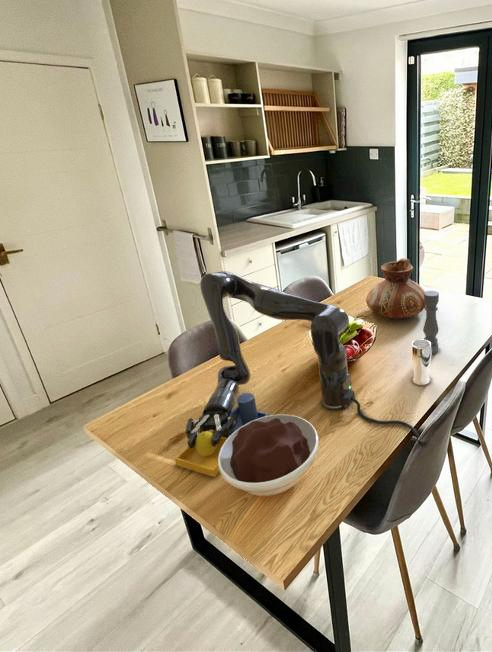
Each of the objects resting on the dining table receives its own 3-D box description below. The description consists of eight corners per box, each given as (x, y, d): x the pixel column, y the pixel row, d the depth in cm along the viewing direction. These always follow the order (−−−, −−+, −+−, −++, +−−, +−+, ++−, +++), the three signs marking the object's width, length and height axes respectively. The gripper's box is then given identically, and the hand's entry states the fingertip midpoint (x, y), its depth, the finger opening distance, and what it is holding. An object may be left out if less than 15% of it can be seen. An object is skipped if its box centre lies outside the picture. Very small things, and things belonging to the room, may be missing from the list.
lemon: (212, 463, 109) (206, 440, 106) (194, 461, 110) (188, 438, 107) (223, 448, 114) (218, 426, 110) (206, 446, 115) (200, 424, 112)
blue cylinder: (262, 418, 126) (257, 394, 122) (252, 428, 121) (247, 404, 118) (248, 415, 127) (244, 391, 124) (238, 425, 123) (233, 401, 119)
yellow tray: (242, 447, 114) (240, 441, 113) (214, 477, 105) (212, 470, 104) (206, 437, 119) (204, 431, 118) (176, 465, 109) (174, 458, 108)
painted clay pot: (429, 324, 184) (430, 273, 174) (365, 326, 184) (362, 275, 175) (424, 299, 211) (424, 254, 202) (368, 301, 212) (365, 256, 202)
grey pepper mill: (421, 352, 161) (421, 295, 151) (425, 345, 166) (425, 289, 156) (435, 355, 158) (437, 297, 149) (439, 347, 164) (441, 291, 154)
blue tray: (270, 419, 125) (269, 413, 125) (249, 441, 117) (248, 435, 116) (238, 412, 129) (237, 406, 128) (216, 432, 121) (215, 426, 120)
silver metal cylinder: (433, 377, 144) (434, 340, 138) (427, 387, 138) (427, 350, 132) (415, 373, 147) (415, 337, 141) (408, 383, 141) (408, 346, 135)
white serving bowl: (278, 428, 121) (271, 387, 115) (341, 462, 108) (336, 417, 102) (204, 484, 103) (191, 438, 97) (268, 533, 89) (258, 484, 83)
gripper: (193, 397, 120) (171, 436, 105) (241, 393, 121) (226, 431, 106) (199, 417, 123) (177, 458, 108) (246, 413, 124) (231, 453, 109)
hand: (202, 444), depth 107 cm, fingers closed on lemon, 5 cm apart
